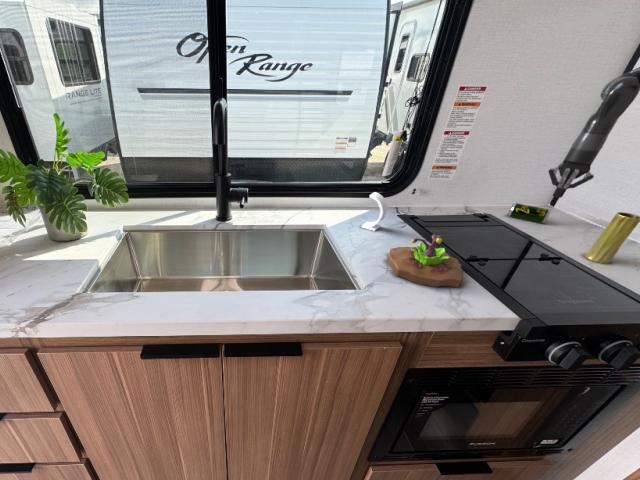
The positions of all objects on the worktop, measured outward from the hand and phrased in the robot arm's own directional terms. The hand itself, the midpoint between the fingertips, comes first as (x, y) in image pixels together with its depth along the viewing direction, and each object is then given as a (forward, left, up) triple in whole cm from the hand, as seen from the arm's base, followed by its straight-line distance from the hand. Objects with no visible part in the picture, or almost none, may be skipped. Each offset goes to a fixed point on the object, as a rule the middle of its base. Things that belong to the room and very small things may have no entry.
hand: (556, 197), depth 120 cm
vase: (-17, +25, -10) cm, 32 cm away
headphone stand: (+44, +54, -10) cm, 70 cm away
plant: (+19, +72, -10) cm, 75 cm away
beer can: (-1, 0, -7) cm, 7 cm away
